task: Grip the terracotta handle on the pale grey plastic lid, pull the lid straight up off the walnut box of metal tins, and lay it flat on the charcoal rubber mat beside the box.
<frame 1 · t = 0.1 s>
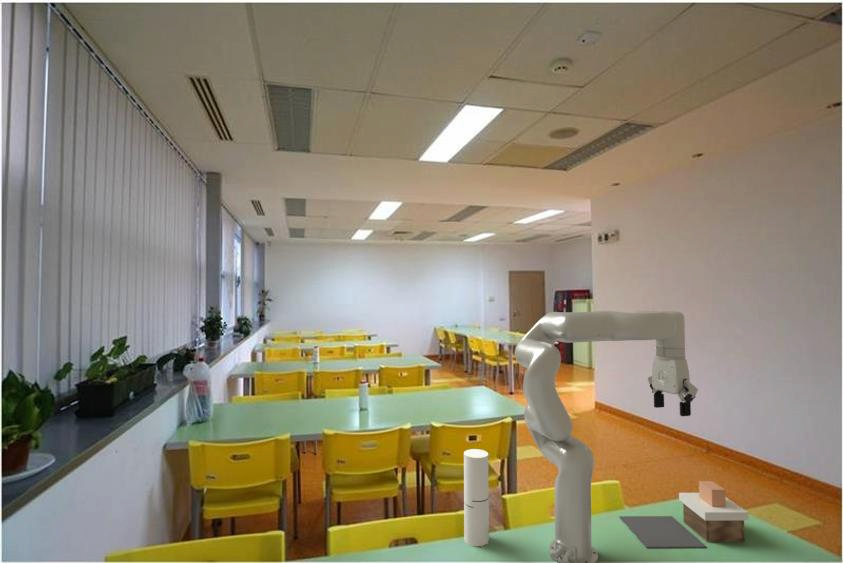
hand: (671, 411, 129), 37 cm above the table, tool pointing down, fingers open, 9 cm apart
cylindrical container: (476, 540, 128), on the table
box: (712, 531, 132), on the table
mat: (660, 531, 132), on the table
lid: (712, 509, 132), point 6 cm above the table, touching box
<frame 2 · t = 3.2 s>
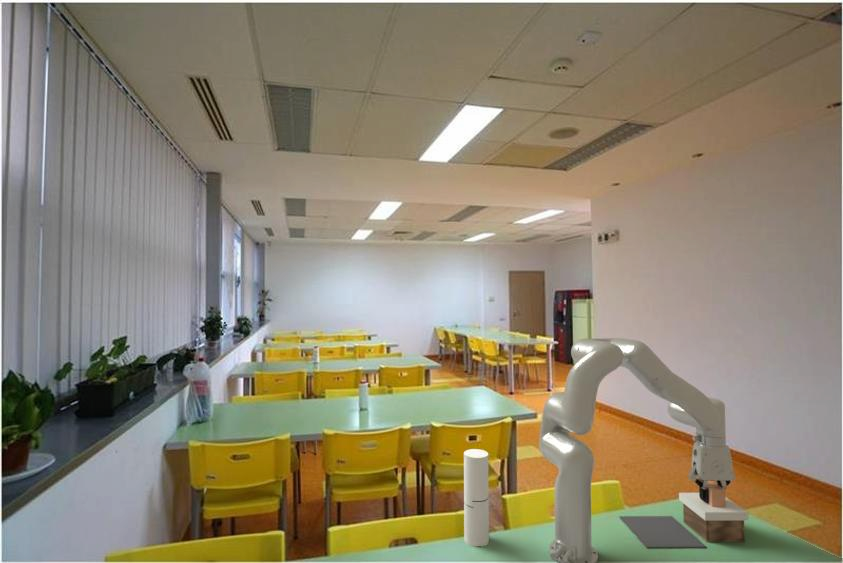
hand: (712, 500, 132), 9 cm above the table, tool pointing down, fingers closed on lid, 4 cm apart
lid: (712, 509, 132), point 7 cm above the table, touching box, gripper
everything else where it was.
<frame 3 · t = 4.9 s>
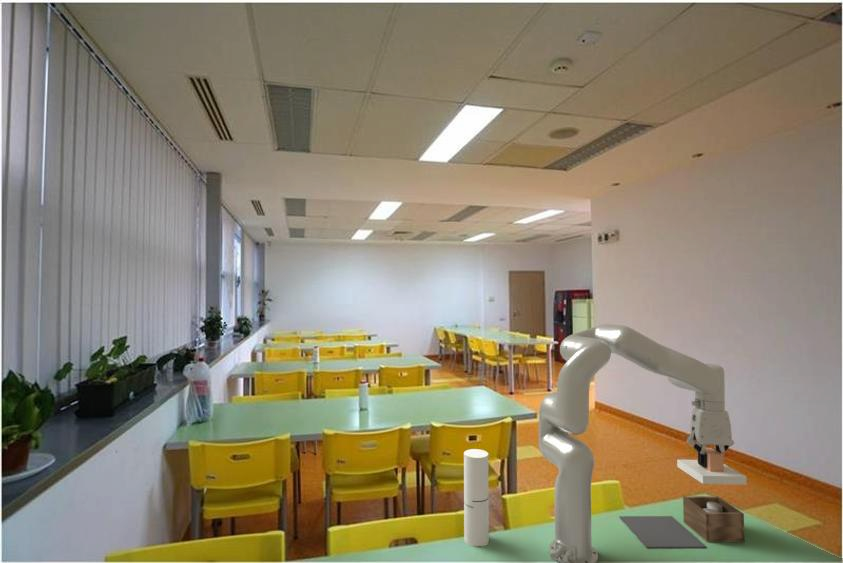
hand: (710, 465, 133), 20 cm above the table, tool pointing down, fingers closed on lid, 4 cm apart
lid: (710, 475, 132), point 17 cm above the table, touching gripper
everything else where it was.
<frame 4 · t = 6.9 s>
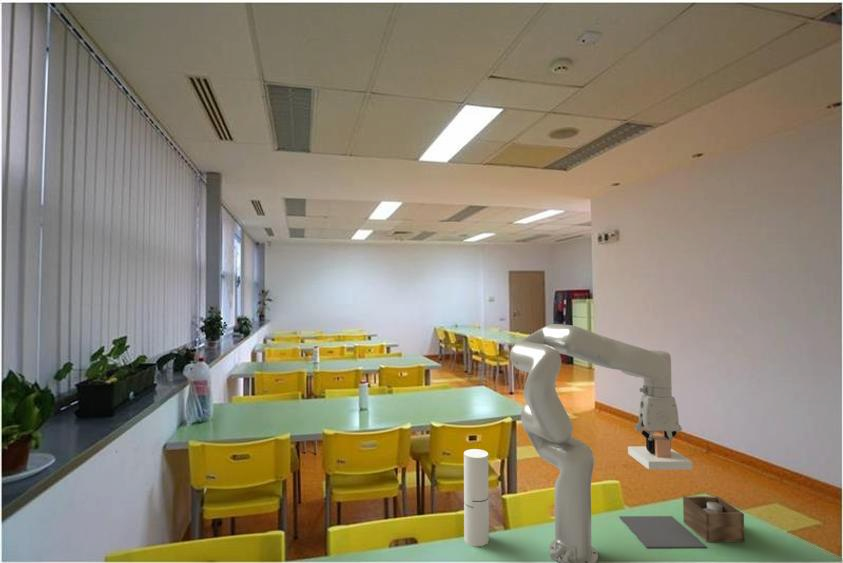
hand: (658, 451, 133), 24 cm above the table, tool pointing down, fingers closed on lid, 4 cm apart
lid: (658, 461, 133), point 21 cm above the table, touching gripper
everything else where it was.
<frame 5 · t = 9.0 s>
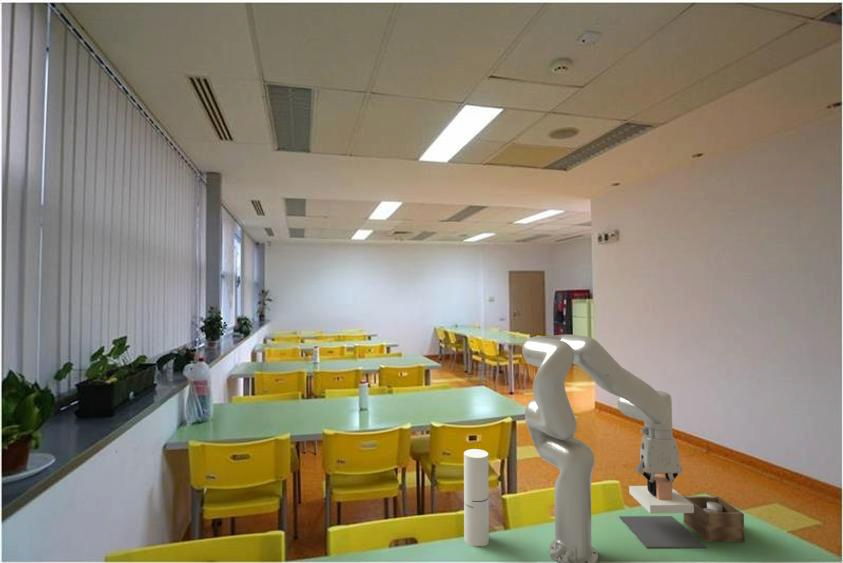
hand: (659, 493, 132), 11 cm above the table, tool pointing down, fingers closed on lid, 4 cm apart
lid: (660, 502, 132), point 9 cm above the table, touching gripper
everything else where it was.
when the fingers open (5 cm above the table, at t = 10.7 s): lid drops 1 cm, resting on mat.
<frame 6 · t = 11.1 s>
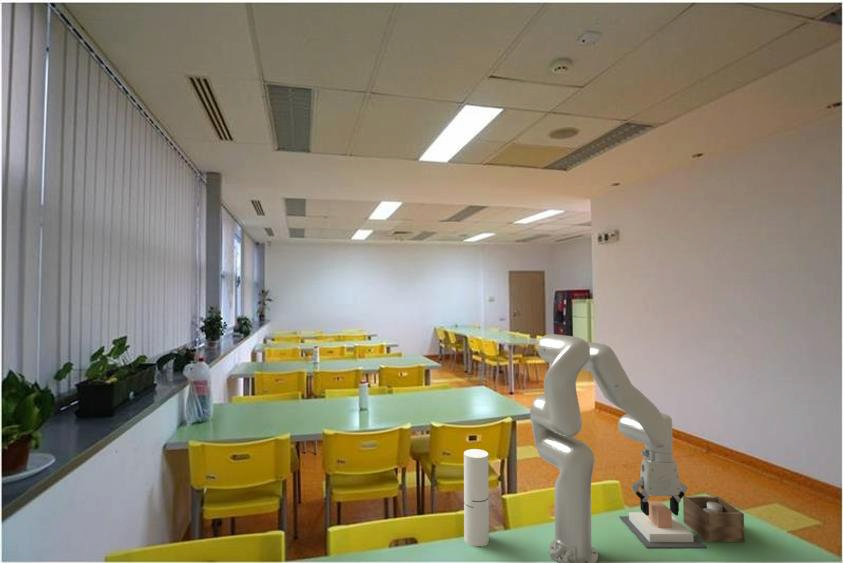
hand: (659, 513, 132), 6 cm above the table, tool pointing down, fingers open, 8 cm apart
lid: (659, 530, 132), resting on mat
everything else where it was.
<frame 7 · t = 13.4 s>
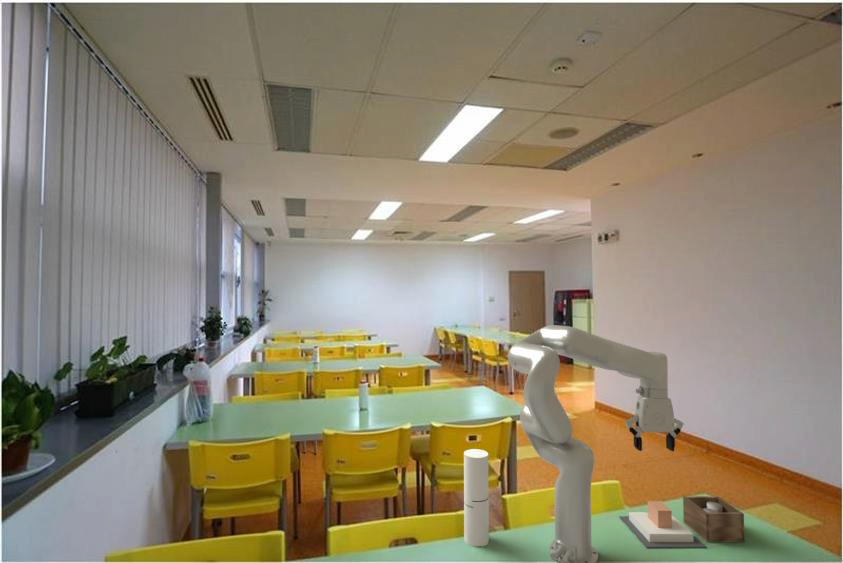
hand: (654, 449, 133), 24 cm above the table, tool pointing down, fingers open, 9 cm apart
nothing on the table moved.
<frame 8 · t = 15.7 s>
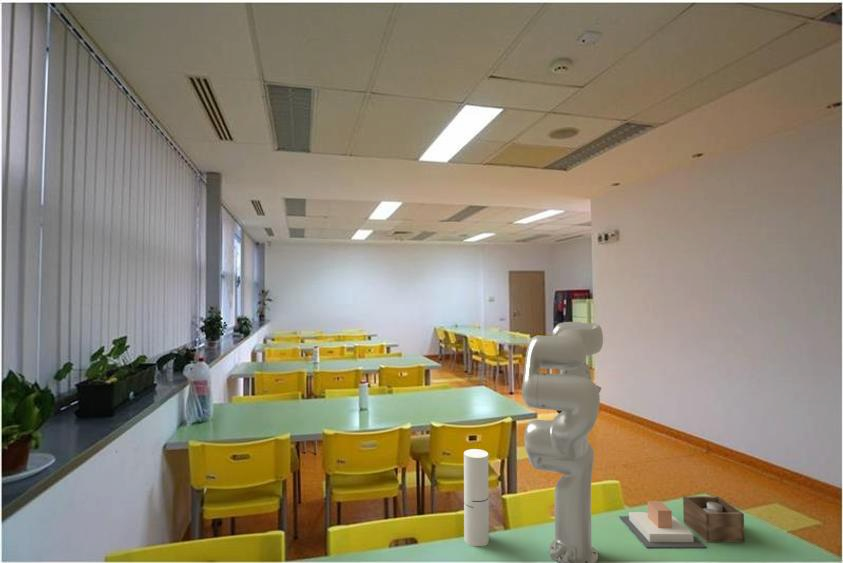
hand: (574, 413, 141), 33 cm above the table, tool pointing down, fingers open, 9 cm apart
nothing on the table moved.
at the end: lid inside the target area on the mat (0.1 cm from its centre), point 0.4 cm above the mat's base; lid tilted 0°; the gripper is holding nothing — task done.
